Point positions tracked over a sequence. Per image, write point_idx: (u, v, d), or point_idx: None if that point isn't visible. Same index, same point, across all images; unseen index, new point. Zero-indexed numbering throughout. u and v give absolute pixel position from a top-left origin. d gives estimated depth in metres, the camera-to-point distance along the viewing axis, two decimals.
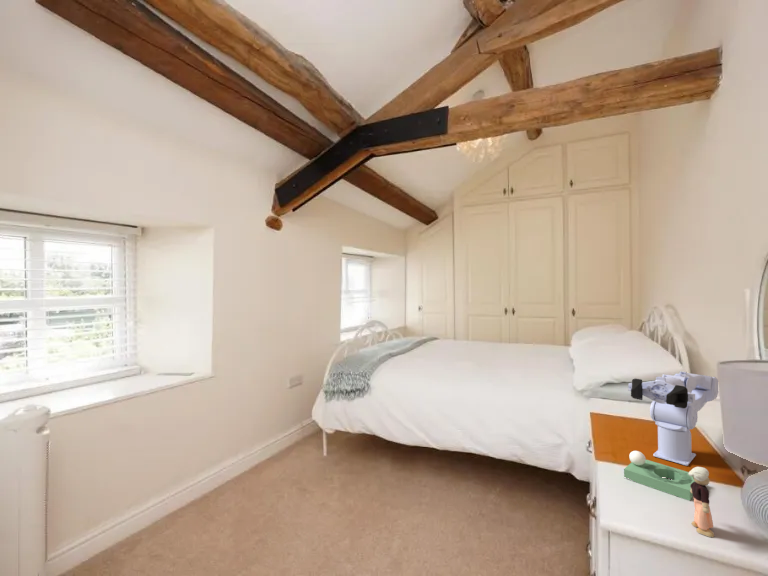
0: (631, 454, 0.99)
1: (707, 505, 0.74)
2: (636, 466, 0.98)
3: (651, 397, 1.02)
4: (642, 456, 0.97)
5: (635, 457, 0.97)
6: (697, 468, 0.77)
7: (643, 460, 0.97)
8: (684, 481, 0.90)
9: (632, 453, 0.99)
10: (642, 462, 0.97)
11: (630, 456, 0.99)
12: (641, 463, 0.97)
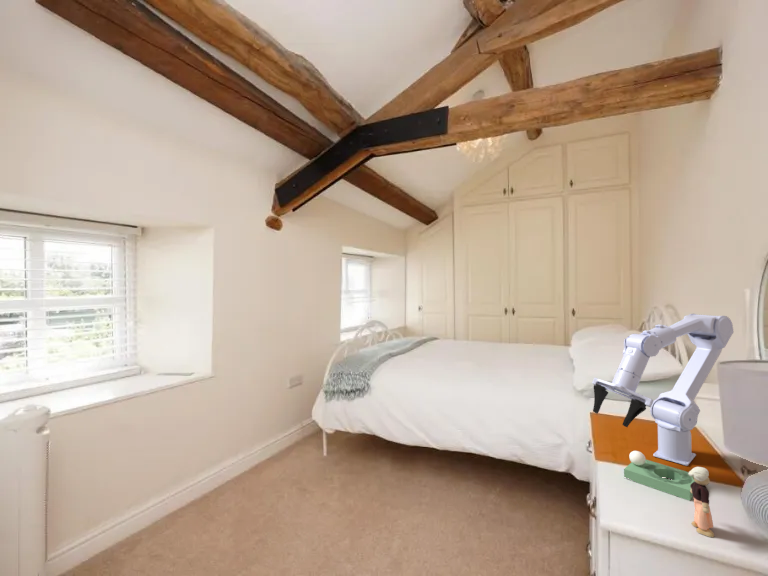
0: (631, 454, 0.99)
1: (707, 505, 0.74)
2: (636, 466, 0.98)
3: None
4: (642, 456, 0.97)
5: (635, 457, 0.97)
6: (697, 468, 0.77)
7: (643, 460, 0.97)
8: (684, 481, 0.90)
9: (632, 453, 0.99)
10: (642, 462, 0.97)
11: (630, 456, 0.99)
12: (641, 463, 0.97)
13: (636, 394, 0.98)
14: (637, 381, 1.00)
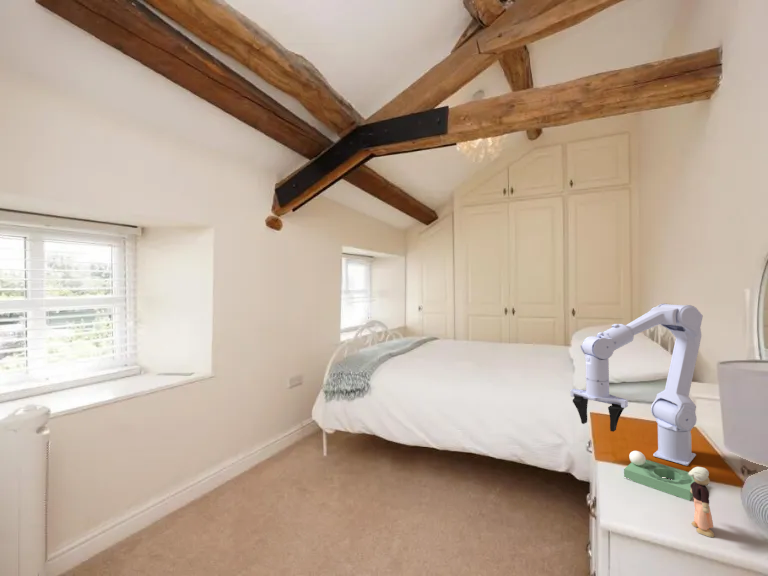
0: (631, 454, 0.99)
1: (707, 505, 0.74)
2: (636, 466, 0.98)
3: None
4: (642, 456, 0.97)
5: (635, 457, 0.97)
6: (697, 468, 0.77)
7: (643, 460, 0.97)
8: (684, 481, 0.90)
9: (632, 453, 0.99)
10: (642, 462, 0.97)
11: (630, 456, 0.99)
12: (641, 463, 0.97)
13: (610, 400, 1.02)
14: (607, 385, 1.03)
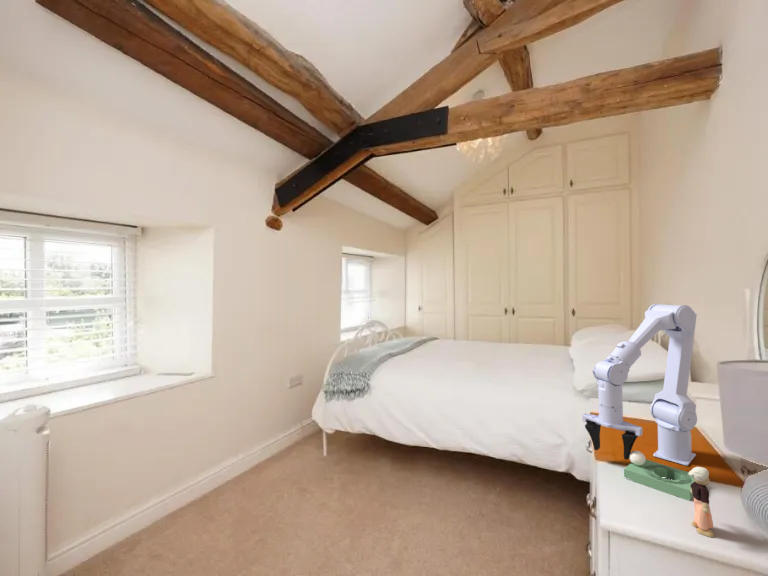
0: (631, 454, 0.99)
1: (707, 505, 0.74)
2: (636, 466, 0.98)
3: None
4: (642, 456, 0.97)
5: (635, 457, 0.97)
6: (697, 468, 0.77)
7: (643, 460, 0.97)
8: (684, 481, 0.90)
9: (632, 453, 0.99)
10: (642, 462, 0.97)
11: (630, 456, 0.99)
12: (641, 463, 0.97)
13: (624, 427, 0.99)
14: (620, 412, 1.01)
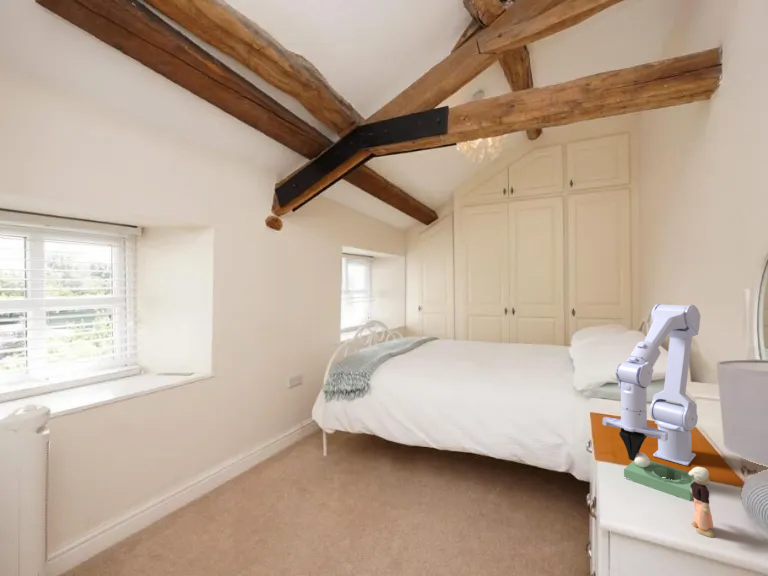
0: (637, 456, 0.97)
1: (707, 505, 0.74)
2: (636, 466, 0.98)
3: None
4: (648, 462, 0.96)
5: (641, 461, 0.96)
6: (697, 468, 0.77)
7: (646, 465, 0.96)
8: (684, 481, 0.90)
9: (639, 456, 0.97)
10: (644, 466, 0.96)
11: (635, 457, 0.98)
12: (643, 467, 0.97)
13: (649, 432, 0.95)
14: (644, 416, 0.96)
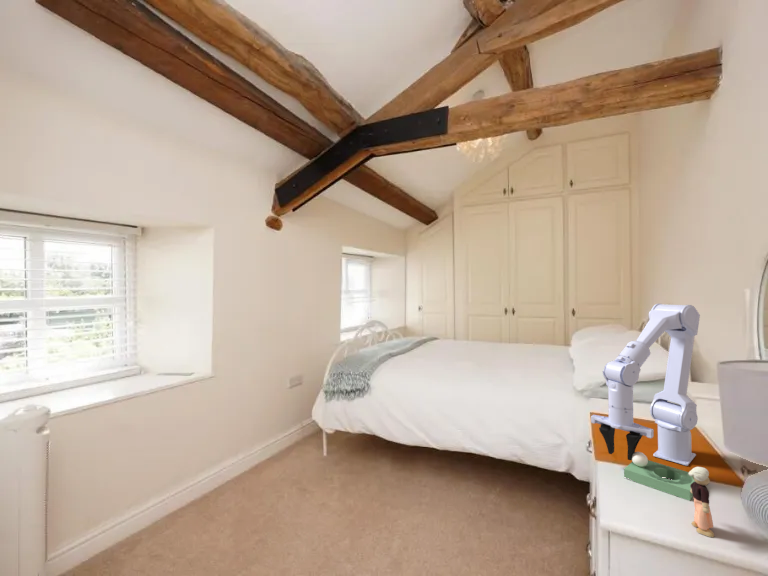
0: (634, 455, 0.98)
1: (707, 505, 0.74)
2: (636, 466, 0.98)
3: None
4: (645, 460, 0.96)
5: (638, 459, 0.97)
6: (697, 468, 0.77)
7: (645, 463, 0.96)
8: (684, 481, 0.90)
9: (636, 454, 0.98)
10: (644, 465, 0.97)
11: (633, 457, 0.98)
12: (642, 465, 0.97)
13: (635, 429, 0.97)
14: (631, 413, 0.99)
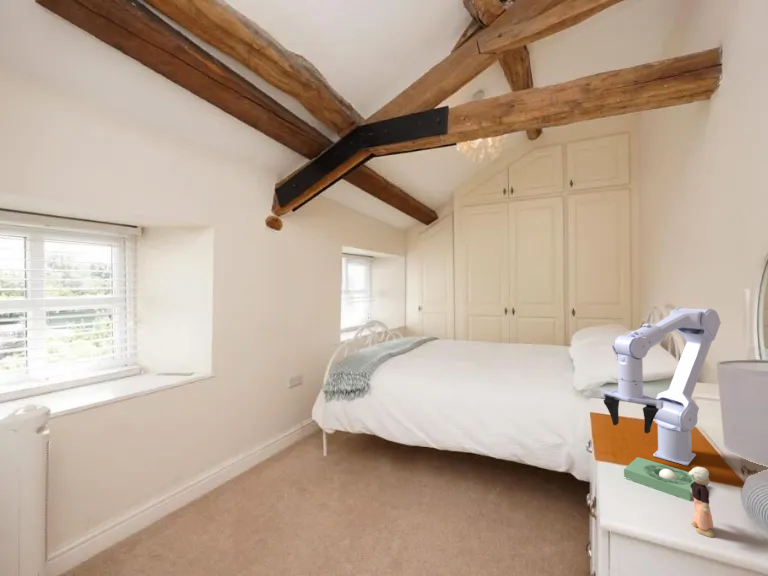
0: None
1: (707, 505, 0.74)
2: (636, 466, 0.98)
3: None
4: (659, 474, 0.94)
5: None
6: (697, 468, 0.77)
7: (661, 475, 0.93)
8: (684, 481, 0.90)
9: None
10: (664, 476, 0.93)
11: None
12: (665, 476, 0.92)
13: (645, 401, 0.99)
14: (641, 386, 1.00)
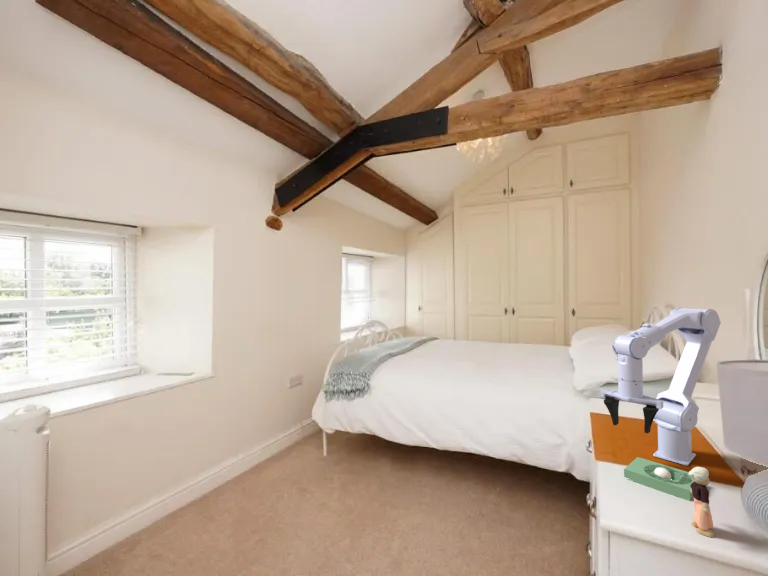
0: None
1: (707, 505, 0.74)
2: (636, 466, 0.98)
3: None
4: None
5: None
6: (697, 468, 0.77)
7: None
8: (684, 481, 0.90)
9: None
10: None
11: None
12: None
13: (645, 401, 0.99)
14: (641, 386, 1.00)
